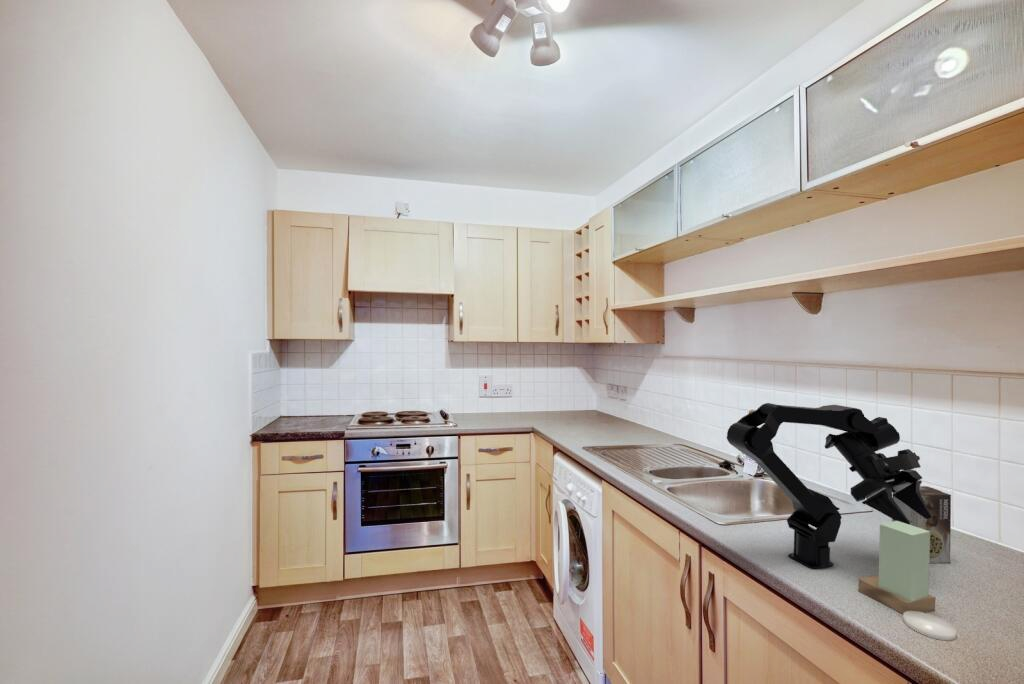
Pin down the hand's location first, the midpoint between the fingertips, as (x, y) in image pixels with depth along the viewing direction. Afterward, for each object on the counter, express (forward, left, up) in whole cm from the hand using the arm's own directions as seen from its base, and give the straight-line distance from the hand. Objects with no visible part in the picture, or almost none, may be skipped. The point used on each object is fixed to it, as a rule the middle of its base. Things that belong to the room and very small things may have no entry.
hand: (919, 521), depth 97 cm
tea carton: (+4, -11, -11) cm, 16 cm away
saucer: (+11, -14, -14) cm, 22 cm away
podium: (+3, -10, -14) cm, 17 cm away
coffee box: (-9, +16, -14) cm, 23 cm away
